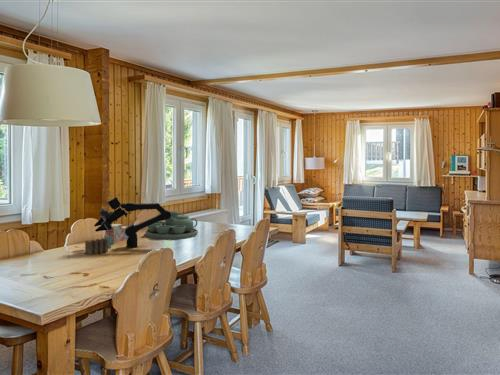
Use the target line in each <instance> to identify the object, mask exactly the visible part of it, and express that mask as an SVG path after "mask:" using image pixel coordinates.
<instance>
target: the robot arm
mask: <svg viewBox="0 0 500 375" xmlns="http://www.w3.org/2000/svg"><path fill="white" fill-rule="evenodd" d="M107 205H109V208H111V210H114V211H108V210H106V209H105V208H103V207H102V208H101V209H100V211H99V214H100V217H99V218H98V220H97V221H96V223H94V225H93V227H97V228H96V229H94V230H95V232H96V233H97V232H102V231H106V230H110V229H112V224H113V223H114V222H117V221H118V220H119V219H120V218H122V217H124V216H125V218H127V217H128V213H130V212H135V211H139V210H157V211H158V212H159V213H158V214H157V215H155V216H153V217H151V218H149V219H147V220H144V221H141V222H139V223H137V224H134V223H131V224H129V225H127V227H126V228H125V234H126V235H127V236H128V239H126V247H127V248H130V249H131V248H139V246H138V232H139V231H140V230H143V229H144V228H148V226H150V225H152V224H154V223H156V222H164V221H165V220H167V219H169V218H170V217H171V213H170V212H169V211H170V210H168V209H165V208H164V207H163V206H162V205H161V204H160V203H159V202H155V203H153V202H152V203H136V202H129V201H127V202H125V203H123V202H122V203H121V202H120V200H119V199H118V197H117V196H115V197H114V198H111V199H110V200H108V201H107Z"/></svg>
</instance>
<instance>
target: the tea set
mask: <svg viewBox="0 0 500 375" xmlns="http://www.w3.org/2000/svg"><path fill="white" fill-rule="evenodd" d="M168 211H169V212H170V213H171V217H170V218H169V219H167V220H164V221H158V222H156V223H154V224H152V225H150V226H147V228H148V229H146V230H145V236H146V237H149V238H150V239H151V238H152V239H159V240H178V239H179V240H181V238H182V239H188V238H194V237H195V236H197V235H198V233H199V231H198V229H196V227H197V226H198V220H197V219H196V218H190V217H189V215H187V214H183V213H182V214H179V212H180V211H175V210H168ZM194 222H195V225H194Z"/></svg>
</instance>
